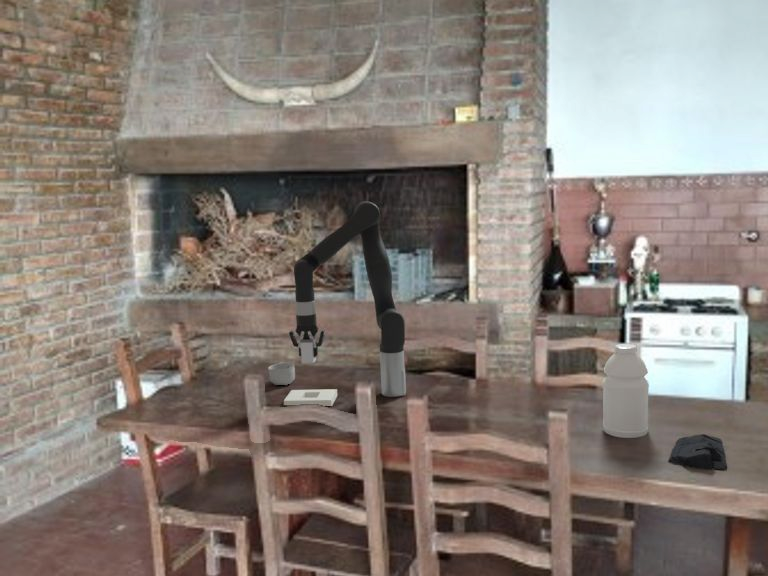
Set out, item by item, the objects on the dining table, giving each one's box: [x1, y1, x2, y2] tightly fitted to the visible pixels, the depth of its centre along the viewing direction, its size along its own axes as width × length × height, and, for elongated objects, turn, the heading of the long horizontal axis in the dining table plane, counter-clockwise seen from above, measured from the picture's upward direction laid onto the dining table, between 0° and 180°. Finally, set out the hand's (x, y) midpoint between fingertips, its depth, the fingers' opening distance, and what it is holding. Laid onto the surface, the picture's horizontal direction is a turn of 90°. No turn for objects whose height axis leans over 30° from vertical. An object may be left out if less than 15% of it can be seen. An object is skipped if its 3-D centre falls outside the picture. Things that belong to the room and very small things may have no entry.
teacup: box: [267, 361, 296, 386], centre depth 314 cm, size 14×11×8 cm
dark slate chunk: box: [667, 433, 727, 471], centre depth 218 cm, size 15×22×5 cm
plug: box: [299, 339, 317, 364], centre depth 285 cm, size 4×5×9 cm
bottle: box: [602, 343, 650, 439], centre depth 238 cm, size 14×14×28 cm
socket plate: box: [283, 388, 338, 407], centre depth 287 cm, size 18×14×2 cm
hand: (308, 356), depth 285 cm, fingers closed on plug, 4 cm apart
